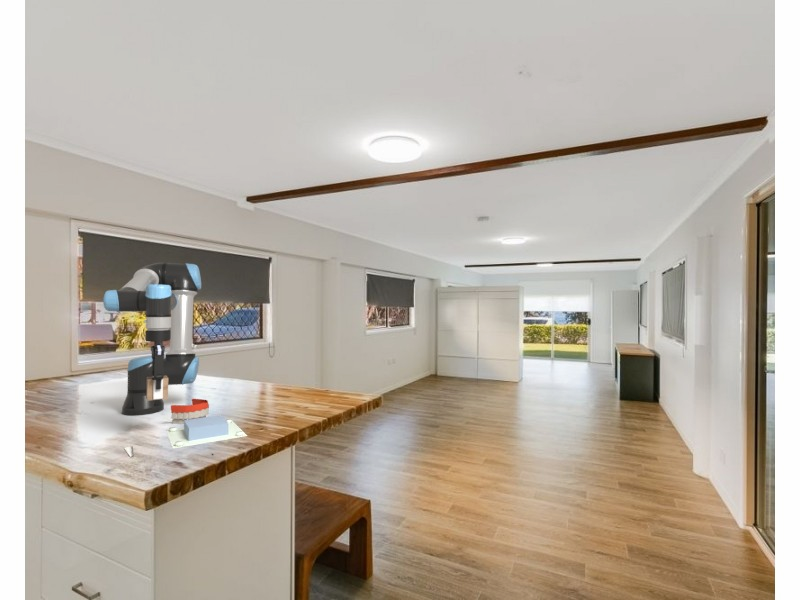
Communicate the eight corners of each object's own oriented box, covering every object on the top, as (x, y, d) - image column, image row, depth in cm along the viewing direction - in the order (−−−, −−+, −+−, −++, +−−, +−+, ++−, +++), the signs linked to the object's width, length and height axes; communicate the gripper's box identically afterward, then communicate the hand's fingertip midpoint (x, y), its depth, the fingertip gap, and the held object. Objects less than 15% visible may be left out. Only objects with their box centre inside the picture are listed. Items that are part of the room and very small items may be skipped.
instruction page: (124, 448, 127) (124, 447, 127) (149, 443, 131) (149, 442, 131) (130, 457, 119) (130, 456, 119) (157, 451, 124) (157, 450, 124)
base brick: (183, 431, 140) (184, 420, 140) (221, 426, 147) (221, 415, 147) (188, 441, 130) (188, 428, 130) (228, 434, 137) (228, 422, 137)
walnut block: (146, 397, 139) (146, 376, 140) (166, 395, 143) (166, 375, 143) (147, 400, 134) (147, 379, 135) (167, 398, 138) (168, 378, 138)
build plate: (165, 433, 141) (166, 427, 142) (232, 424, 154) (232, 418, 154) (172, 452, 123) (172, 445, 123) (247, 439, 136) (247, 432, 136)
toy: (193, 429, 147) (194, 407, 148) (169, 427, 149) (169, 405, 150) (216, 420, 160) (216, 399, 160) (192, 418, 162) (193, 398, 162)
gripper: (144, 328, 145) (143, 392, 144) (146, 331, 129) (145, 404, 129) (168, 327, 149) (167, 390, 149) (173, 330, 133) (172, 401, 133)
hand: (157, 396), depth 139 cm, fingers closed on walnut block, 6 cm apart
